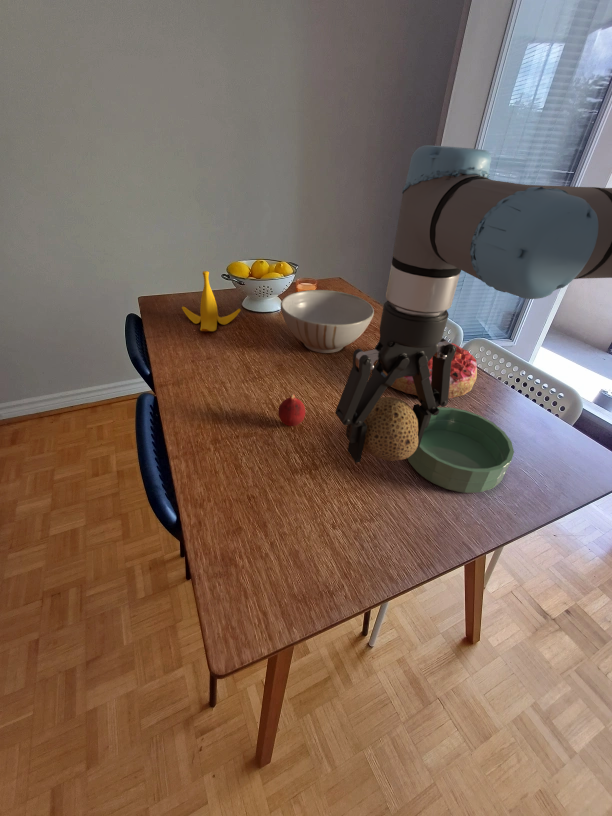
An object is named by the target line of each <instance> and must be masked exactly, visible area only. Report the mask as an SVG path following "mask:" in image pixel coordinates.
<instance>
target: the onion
mask: <svg viewBox="0 0 612 816" xmlns="http://www.w3.org/2000/svg"><path fill="white" fill-rule="evenodd" d="M277 411H278V412H277V413H278V418H279V419H280V421H281V423H283V424H284V425H285V426H288V427H295V426H298V425H300V424H301V423H303V421H304V420H305V416H306V407H305V405H304V403H303V402H302V401H301V400H300V399H299V398H298V397H296V396H295V394H293V393H291V394H290V396H289V397H288V398H285V399H284V400H283V401H282V402H281V403H280V404H279V407H278V410H277Z"/></svg>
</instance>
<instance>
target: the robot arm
mask: <svg viewBox="0 0 612 816" xmlns="http://www.w3.org/2000/svg"><path fill="white" fill-rule="evenodd" d="M491 165H492V155H491V153H490V152H489V151H488V150H486V149H479V148H471V147H459V146H445V145H421V146H419V147H418V148H416V149H415V150H414V152H413V153H412V155H411V158H410V162H409V166H408V171H407V175H406V180H405V185H404V186H403V187H402V192H401V194H402V195H401V201H400V208H399V215H398V221H397V226H396V227H397V228H396V233H395V240H394V245H393V251H392V259H391V263H390V270H389V275H388V281H387V287H386V292H385V298H386V301H385V302H384V303H383V307H382V312H381V318H380V323H379V340H378V342H377V344H376V345H375V347H374V349H369V350H365V351H363V350H362V348H356V349H354V351H353V353H352V367H351V369H350V372H349V375H348V377H347V379H346V382H345V385H344V388H343V391H342V393H341V396H340V397H339V401H338V404H337V406H336V409H335V415H336V416H337V418H338V419H339V420H340V422H341V424H342V425H344V426H346V429H345V437H346V439H347V440H348V447H347V452H348V454H349V455H350V457H351V458H352V460H353V461H354V463H355V464H358V463H361V461H362V457H363V452H364V451H363V446H364V441H365V435H366V430H367V425H366V424H365V423H364V421H365V419H366V418H367V416H368V415H369V413H370V412H371V410H372V409H373V407H374V406H375V405H376V403H377V402H378V400H379V399H380V398H381V397H383V394H384V393H385V391H386V390H387V388H388V387H391V386H392V385H393V383H394V382H395V380H396V379H398V378H402V377H404V376H410V377H411V376H412V377H413V381H414V384H415V388H416V391H417V395H418V396H417V395H416V396H417V399H418V402H419V403H414V404H413V406H412V410H413V411H414V413H415V414H416V417H417V420H418V446H417V449H419V446H420V443H421V440H422V436H423V433H424V429H425V428H427V427H428V425H429V421H430V419H431V415H433V416H435V415H437V414H438V413H439V411H440V410H439V409H438V408H437V407H446V406H447V405H448V403H449V399H448V396H449V384H450V373H451V362H452V359H453V357H454V354H455V352H456V347H455V346H454V345H453V344H451V343H452V342H450V341H448V340H447V339H445V337H444V338H443V336H444V333H445V329H446V326H447V323H448V318H449V312H448V310H449V309H450V308H452V306H453V305H452V304H453V302H454V298H455V293H456V290H457V286H458V282H459V280H460V275H461V272H462V271H463V272H464V273H466V274H469V275H470V276H472V277H474V278H476V279H477V280H480V281H481V282H483V283H485V285H486V286H488V287H490V288H493V289H494V290H496V291H497V292H502V293H507V294H510V295H512V296H516V297H518V298H522V299H525V300H526V299H527V300H538V299H543V298H546V297H549V296H551V295H552V294H553V292H555V291H556V290H559V289H563V288H565V287H566V286H568V285H570V283H572V282H573V281H574V280H580V279H612V187H597V186H596V187H595V186H570V185H569V186H567V185H542V184H523V183H516V182H509V181H502V180H495V179H490V170H491ZM432 357H433V360H432V381H431V383H430V379H429V377H430V372H429V368H428V361H429V360H430V359H431V358H432ZM383 370H384V371H385V372H386V373H387V374H388V375H387V376H386V375H385V374H384V373H383ZM417 449H416V450H417Z"/></svg>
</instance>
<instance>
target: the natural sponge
mask: <svg viewBox="0 0 612 816" xmlns="http://www.w3.org/2000/svg"><path fill="white" fill-rule="evenodd" d="M364 423H365V424H366V425H367V430H366V435H365V441H364V446H363V451H362V452H365V453H367V454H370V455H371V456H373V457H375V458H379V459H381V460H384V461H388V462H389V461H391V462H393V461H402V460H406V459H407V458H408V457H410V456H411V455H412V454H413V453H414V452H415V451H416V449H417V446H418V420H417V417H416V414H415V413H414V411H413V407H411V406H410V405H409V404H408V403H407V402H406V401H405V400H403V399H400V398H399V397H394V396H381V397H380V399H379V400H378V402H377V403H376V405H375V406H374V407H373V409H372V410H371V412H370V413H369V415H368V416H367V418H366V419H365V421H364Z"/></svg>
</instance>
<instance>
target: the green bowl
mask: <svg viewBox="0 0 612 816" xmlns="http://www.w3.org/2000/svg"><path fill="white" fill-rule="evenodd" d="M437 408H438V409H439V410H440V411H439V413H438V414H437V415H435V416H433V415H431V419H430V421H429V425H428V427H427V428H425V429H424V433H423V436H422V440H421V443H420V446H419V449H417V450H416V451H415V452H414V453H413V454H412V455H411V456H410V457H408V458H406V459H407V461H408V463H409V464H410V465H411V467H412V468H413V469H414V470H415V471H416V472H417V473H418V474H419V475H420V476H421V477H423V478H424V479H425V480H427V481H428V482H430V483H432V484H433V485H436V486H438V487H440V488H443V489H445V490H449V491H452V492H457V493H464V494H474V493H475V494H476V493H483V492H485V491H489V490H492V489H494V488H495V487H496V486H498V485H499V484H500V483H501V482H502V481H503V479H504V477H505V475H506V473H507V471H508V470H509V467H510V465H511V463H512V460H513V457H514V453H515V450H514V446H513V442H512V440H511V438H510V437H509V436H508V435H507V433H506V432H505V431H504V430H503V429H502V428H500V427H499V426H498V425H497V424H496V423H494V422H493V421H491V420H489V419H487V418H485V417H484V416H482V415H480V414H477V413H475V412H473V411H469V410H467V409H462V408H461V409H460V408H455V407H446V406H444V407H441V406H438V407H437Z"/></svg>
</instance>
